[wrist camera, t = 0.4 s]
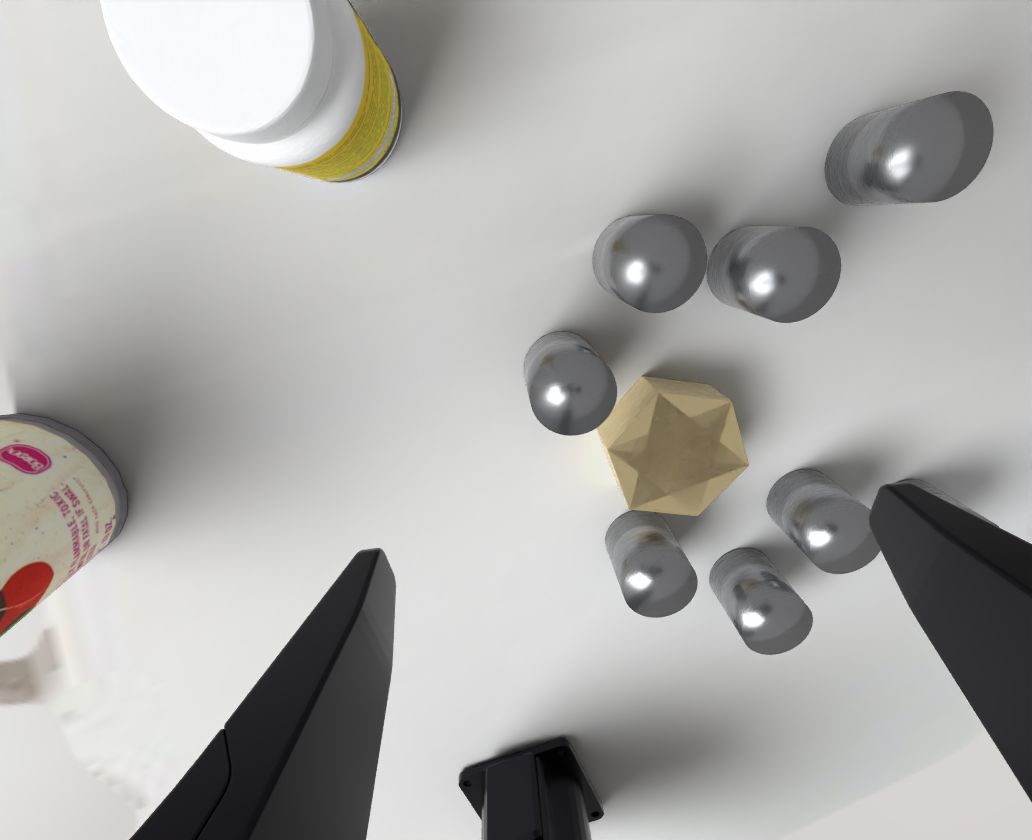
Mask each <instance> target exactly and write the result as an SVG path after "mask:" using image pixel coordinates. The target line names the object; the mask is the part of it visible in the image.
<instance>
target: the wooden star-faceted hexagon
mask: <svg viewBox="0 0 1032 840" xmlns="http://www.w3.org/2000/svg"><path fill="white" fill-rule="evenodd" d="M596 429H597V432H598V435H599V437H600V440H601V443H602V445H603V448H604V451H605V453H606V456H607V459H608V461H609V464H610V467H611V469H612V472H613V475H614V477H615V480H616V483H617V485H618V487H619V489H620V491H621V493H622V495H623V497H624V499H625V501H626V503H627V505H628V507H629V509H630V510H640V511H650V512H660V513H670V514H680V515H690V516H699V515H700V514H701V513H702V512H703V511H704V510H705V509H706V508H707V507H708V506H709V505H710V504H711V503H712V502H713V501H714V500H715V499H716V498H717V497H718V496H719V495H720V494H721V493H722V492H723V491H724V490H725V489H726V488H727V487H728V486H729V485H730V484H731V483H732V482H733V481H734V480H735V479H736V478H737V477H738V476H739V475H740V474H741V473H742V472H743V470H744V469H745V468H746V467H747V466H748V465H749V464H748V460H747V456H746V452H745V448H744V445H743V441H742V437H741V433H740V430H739V426H738V422H737V418H736V415H735V411H734V407H733V403H732V401H731V400H729V399H728V398H727V397H725V396H724V395H723V394H721V393H720V392H718V391H717V390H716V389H714V388H713V387H712V386H710V385H709V384H702V383H694V382H686V381H678V380H670V379H662V378H655V377H647V376H641V377H640V379H639V380H638V381H637V382H636V383H635V384H634V385H633V387H632V388H631V389H630V390H629V391H628V392H627V393H626V395H625V396H624V397H623V398H622V399H621V400H620V401H619V402H618V404H617V405H616V406H615V407H614V408H613V410H612V412H611V414H610V415H609V417H608V418H607V419H606V420H605V421H604V422H603V423H602V424H601V425H600V426H598V427H597V428H596Z"/></svg>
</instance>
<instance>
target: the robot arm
mask: <svg viewBox="0 0 1032 840" xmlns="http://www.w3.org/2000/svg"><path fill="white" fill-rule="evenodd" d="M869 525H870V528H871V531H872V533H873V535H874V537H875V539H876V541H877V543H878V545H879V547H880V549H881V551H882V553H883V555H884V557H885V559H886V561H887V563H888V565H889V567H890V569H891V572H892V574H893V576H894V578H895V580H896V582H897V584H898V586H899V588H900V590H901V592H902V594H903V596H904V598H905V600H906V601H907V603H908V605H909V607H910V609H911V610H912V612H913V614H914V615H915V617H916V619H917V621H918V622H919V624H920V625H921V627H922V628H923V630H924V632H925V633H926V635H927V636H928V638H929V640H930V641H931V643H932V644H933V646H934V648H935V649H936V651H937V652H938V654H939V655H940V657H941V659H942V660H943V662H944V663H945V665H946V667H947V668H948V670H949V671H950V673H951V675H952V676H953V678H954V679H955V681H956V683H957V684H958V686H959V687H960V689H961V690H962V692H963V694H964V695H965V697H966V698H967V700H968V702H969V703H970V705H971V706H972V708H973V710H974V711H975V713H976V714H977V716H978V717H979V719H980V721H981V722H982V724H983V725H984V727H985V729H986V730H987V732H988V733H989V735H990V737H991V738H992V739H993V741H994V743H995V744H996V746H997V748H998V749H999V751H1000V752H1001V754H1002V755H1003V757H1004V759H1005V760H1006V762H1007V764H1008V765H1009V767H1010V768H1011V770H1012V771H1013V773H1014V775H1015V776H1016V778H1017V779H1018V781H1019V783H1020V784H1021V786H1022V787H1023V789H1024V791H1025V792H1026V794H1027V795H1028V797H1029V798H1030V800H1031V802H1032V544H1030V543H1028V542H1026V541H1024V540H1022V539H1020V538H1018V537H1017V536H1015V535H1013V534H1011V533H1009V532H1007V531H1005V530H1003V529H1001V528H999V527H997V526H995V525H993V524H991V523H989V522H987V521H985V520H983V519H981V518H979V517H977V516H975V515H973V514H971V513H969V512H967V511H965V510H963V509H961V508H959V507H957V506H955V505H953V504H951V503H949V502H948V501H946V500H944V499H942V498H940V497H938V496H936V495H934V494H932V493H930V492H928V491H926V490H924V489H922V488H920V487H918V486H916V485H914V484H912V483H908V482H900V483H892V484H886V485H883V486H882V487H881V488H880V489H879V491H878V494H877V496H876V499H875V502H874V504H873V507H872V510H871V512H870V515H869ZM395 595H396V582H395V576H394V574H393V571H392V569H391V567H390V564H389V562H388V560H387V557H386V555H385V553H384V551H383V550H382V549H381V548H374V549H366V550H361V551H359V552H358V553H357V554H356V555H355V556H354V558H353V559H352V560H351V562H350V563H349V564H348V566H347V567H346V568H345V569H344V571H343V572H342V573H341V575H340V576H339V577H338V578H337V580H336V581H335V582H334V584H333V585H332V586H331V587H330V589H329V590H328V591H327V593H326V594H325V595H324V597H323V598H322V599H321V600H320V602H319V603H318V604H317V606H316V607H315V608H314V609H313V611H312V612H311V613H310V615H309V616H308V617H307V619H306V620H305V621H304V622H303V624H302V625H301V626H300V628H299V629H298V630H297V631H296V633H295V634H294V635H293V637H292V638H291V639H290V641H289V642H288V643H287V644H286V646H285V647H284V648H283V650H282V651H281V652H280V653H279V655H278V656H277V657H276V659H275V660H274V661H273V663H272V664H271V665H270V666H269V668H268V669H267V670H266V672H265V673H264V674H263V675H262V677H261V678H260V679H259V681H258V682H257V683H256V685H255V686H254V687H253V688H252V690H251V691H250V692H249V694H248V695H247V696H246V697H245V699H244V700H243V701H242V703H241V704H240V705H239V707H238V708H237V709H236V710H235V712H234V713H233V714H232V716H231V717H230V718H229V719H228V721H227V722H226V723H225V725H224V729H221V730H220V731H219V732H218V733H217V735H216V736H215V737H214V739H213V740H212V741H211V742H210V744H209V745H208V746H207V748H206V749H205V750H204V752H203V753H202V754H201V755H200V757H199V758H198V759H197V760H196V761H195V763H194V764H193V765H192V766H191V768H190V769H189V770H188V771H187V773H186V774H185V775H184V776H183V778H182V779H181V780H180V781H179V783H178V784H177V785H176V786H175V788H174V789H173V790H172V791H171V792H170V793H169V795H168V796H167V797H166V798H165V799H164V800H163V801H162V803H161V804H160V805H159V806H158V807H157V808H156V810H155V811H154V812H153V813H152V814H151V815H150V817H149V818H148V819H147V820H146V821H145V822H144V824H143V825H142V826H141V827H140V828H139V829H138V830H137V831H136V833H135V834H134V835H133V836H132V837H131V838H130V839H129V840H366V835H367V829H368V822H369V816H370V810H371V803H372V797H373V790H374V784H375V777H376V771H377V764H378V758H379V751H380V745H381V739H382V732H383V726H384V719H385V713H386V706H387V700H388V693H389V687H390V680H391V673H392V662H393V643H394V619H395ZM459 787H460V788H461V790H462V791H463V793H464V794H465V796H466V797H467V799H468V800H469V802H470V803H471V805H472V806H473V808H474V809H475V811H476V812H477V814H478V815H479V817H480V819H481V820H482V840H592V839H591V833H590V827H589V822H592V821H595V820H598V819H600V818H602V817H603V815H604V812H603V807H602V804H601V802H600V800H599V798H598V796H597V794H596V792H595V790H594V788H593V786H592V784H591V782H590V780H589V778H588V777H587V775H586V773H585V771H584V769H583V767H582V765H581V763H580V761H579V759H578V757H577V755H576V753H575V751H574V750H573V748H572V746H571V744H570V742H569V741H568V740H566V739H558V740H555V741H552V742H549V743H546V744H543V745H540V746H537V747H534V748H531V749H528V750H525V751H522V752H519V753H516V754H513V755H510V756H507V757H504V758H501V759H498V760H495V761H492V762H489V763H486V764H483V765H480V766H477V767H474V768H471V769H468V770H465V771H463V772H461V773H460V775H459Z"/></svg>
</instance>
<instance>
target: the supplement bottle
mask: <svg viewBox="0 0 1032 840" xmlns="http://www.w3.org/2000/svg"><path fill="white" fill-rule="evenodd" d="M101 7H102V12H103V16H104V20H105V24H106V27H107V31H108V33H109V36H110V39H111V42H112V44H113V46H114V49H115V51H116V53H117V55H118V57H119V58H120V60H121V62H122V64H123V66H124V67H125V69H126V70H127V72H128V73H129V75H130V76H131V78H132V79H133V80H134V81H135V83H136V84H137V85H138V86H139V87H140V88H141V90H142V91H143V92H144V93H145V94H146V95H147V96H148V97H149V98H150V99H151V100H152V101H153V102H154V103H155V104H156V105H158V106H159V107H160V108H161V109H162V110H164V111H165V112H167V113H168V114H169V115H171V116H173V117H174V118H176V119H177V120H179V121H181V122H182V123H185V124H187V125H189V126H191V127H193V128H195V129H196V130H197V131H198V132H199V133H200V134H201V135H202V136H204V137H205V138H206V139H207V140H208V141H210V142H211V143H212V144H214V145H215V146H217V147H218V148H220V149H221V150H223V151H225V152H226V153H228V154H230V155H232V156H234V157H237V158H239V159H241V160H244V161H247V162H250V163H254V164H258V165H262V166H266V167H270V168H274V169H278V170H282V171H286V172H290V173H294V174H297V175H301V176H305V177H308V178H313V179H316V180H320V181H324V182H331V183H345V182H352V181H357V180H360V179H362V178H365V177H367V176H369V175H370V174H372V173H373V172H375V171H376V170H378V169H379V168H380V167H381V166H382V165H383V164H384V163H385V161H386V160H387V159H388V158H389V156H390V155H391V153H392V151H393V149H394V147H395V145H396V143H397V140H398V137H399V133H400V129H401V123H402V103H401V96H400V91H399V87H398V84H397V81H396V78H395V75H394V73H393V71H392V68H391V67H390V65H389V63H388V61H387V60H386V58H385V56H384V55H383V53H382V52H381V50H380V49H379V47H378V45H377V44H376V42H375V41H374V39H373V38H372V36H371V34H370V33H369V31H368V30H367V28H366V26H365V25H364V23H363V22H362V20H361V19H360V18H359V16H358V14H357V13H356V11H355V9H354V8H353V6H352V4H351V3H350V1H349V0H101Z"/></svg>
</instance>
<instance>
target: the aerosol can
mask: <svg viewBox="0 0 1032 840" xmlns="http://www.w3.org/2000/svg"><path fill="white" fill-rule="evenodd" d="M126 517H127V492H126V490H125V487H124V485H123V482H122V480H121V477H120V475H119V472H118V470H117V469H116V467H115V466H114V465H113V464H112V462H111V461H110V460H109V459H108V457H107V456H106V455H105V454H104V452H103V451H102V450H101V449H100V448H99V447H98V446H96V445H95V444H94V443H92V442H91V441H90V440H88V439H87V438H86V437H84V436H83V435H82V434H81V433H79V432H78V431H76V430H74V429H72V428H69V427H67V426H65V425H63V424H60V423H58V422H56V421H54V420H51V419H49V418H43V417H37V416H32V415H26V414H10V415H0V637H1V636H2V635H3V634H5V633H6V632H7V631H8V630H9V629H10V628H12V627H13V626H14V625H15V624H16V623H18V622H19V621H20V620H21V619H22V618H23V617H25V616H26V615H27V614H28V613H29V612H30V611H32V610H33V609H34V608H35V607H36V606H37V605H39V604H40V603H41V602H42V601H43V600H44V599H46V598H47V597H48V596H49V595H50V594H51V593H53V592H54V591H55V590H56V589H57V588H58V587H60V586H61V585H62V584H63V583H64V582H65V581H67V580H68V579H69V578H70V577H71V576H73V575H74V574H75V573H76V572H77V571H78V570H80V569H81V568H82V567H83V566H84V565H85V564H87V563H88V562H89V561H90V560H91V559H92V558H93V557H95V556H96V555H97V554H98V553H99V552H101V551H102V550H103V549H104V548H105V547H106V546H107V545H108V544H109V543H110V542H111V541H112V540H113V539H114V538H115V537H117V536H118V535H119V534H120V532H121V529H122V527H123V524H124V522H125V519H126Z"/></svg>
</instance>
